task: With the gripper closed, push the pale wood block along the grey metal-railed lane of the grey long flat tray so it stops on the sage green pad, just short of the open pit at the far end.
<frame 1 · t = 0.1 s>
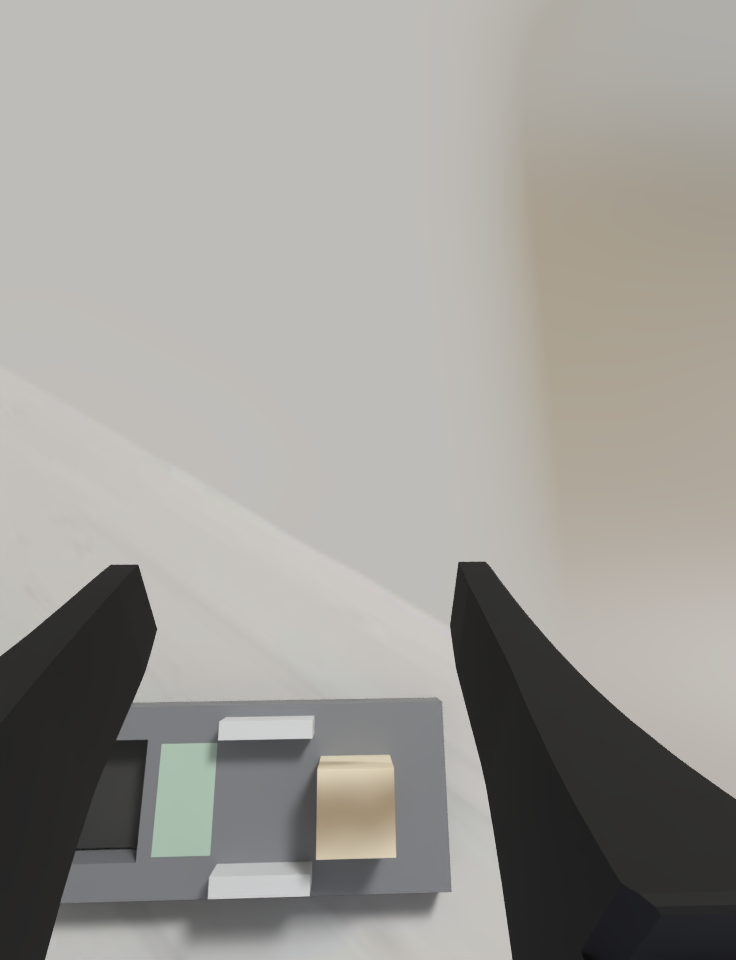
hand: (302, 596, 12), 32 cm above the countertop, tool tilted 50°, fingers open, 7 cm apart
grey long flat tray: (255, 786, 39), on the countertop
block: (355, 794, 37), point 2 cm above the countertop, touching grey long flat tray
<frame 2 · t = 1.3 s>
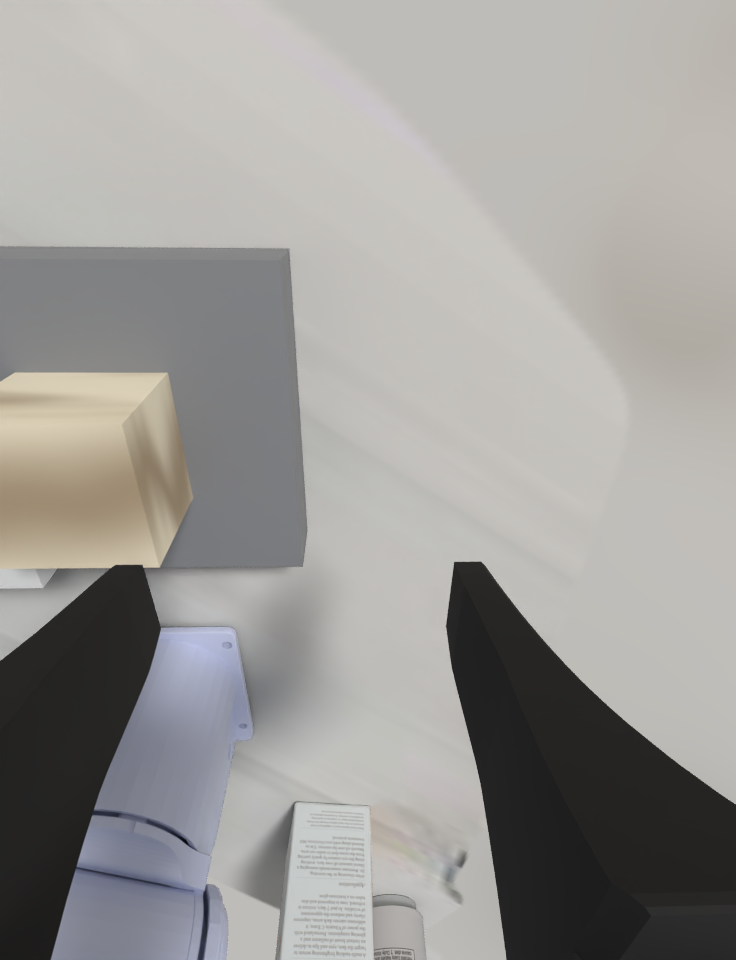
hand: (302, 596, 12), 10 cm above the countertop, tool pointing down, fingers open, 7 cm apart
block: (110, 439, 18), point 2 cm above the countertop, touching grey long flat tray
small box: (326, 826, 39), on the countertop
energy drink can: (387, 903, 46), on the countertop
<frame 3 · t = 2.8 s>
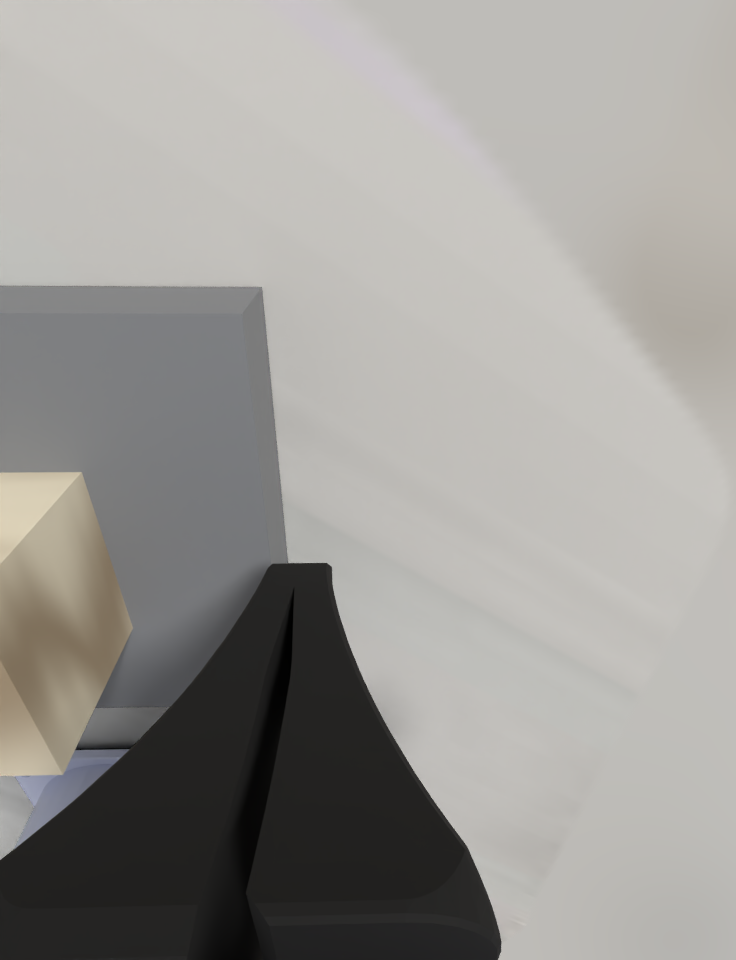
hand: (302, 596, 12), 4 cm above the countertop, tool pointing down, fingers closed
block: (8, 558, 13), point 2 cm above the countertop, touching grey long flat tray
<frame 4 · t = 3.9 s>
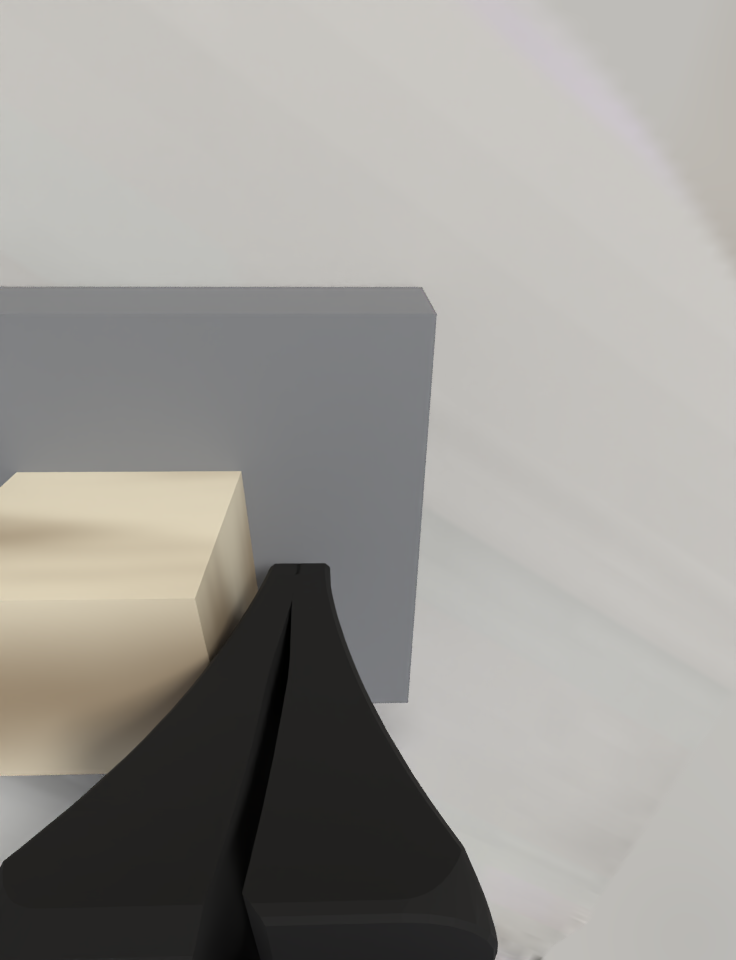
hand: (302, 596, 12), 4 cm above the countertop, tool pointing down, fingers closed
block: (152, 557, 13), point 3 cm above the countertop, touching gripper
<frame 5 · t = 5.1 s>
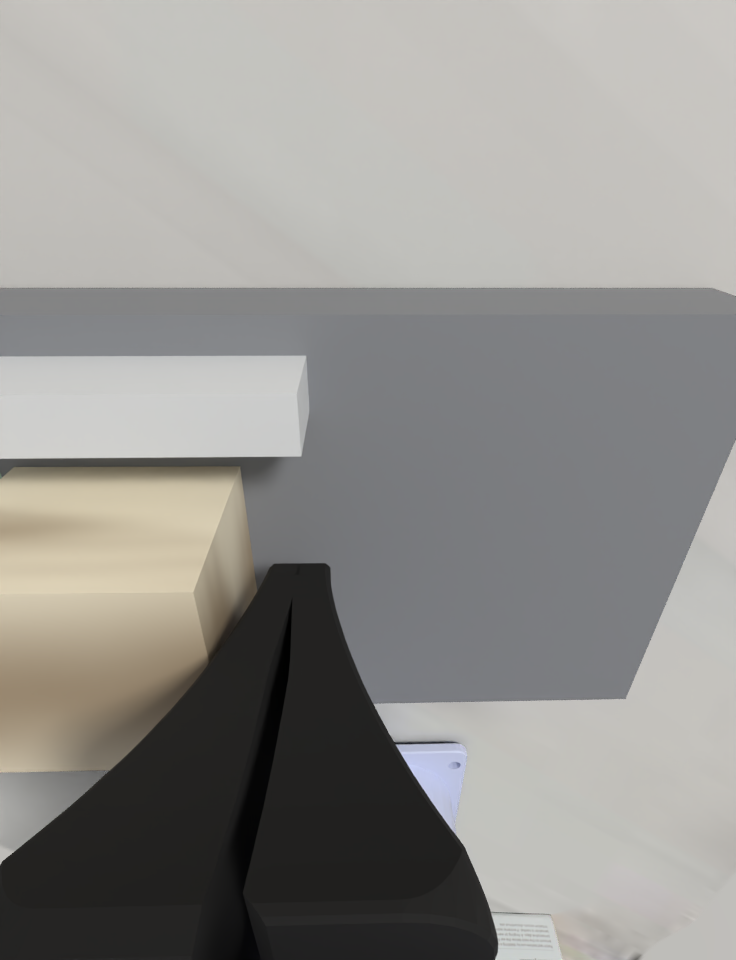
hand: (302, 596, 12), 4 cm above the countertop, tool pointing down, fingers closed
grey long flat tray: (169, 502, 15), on the countertop
block: (151, 553, 13), point 3 cm above the countertop, touching gripper
small box: (491, 932, 33), on the countertop
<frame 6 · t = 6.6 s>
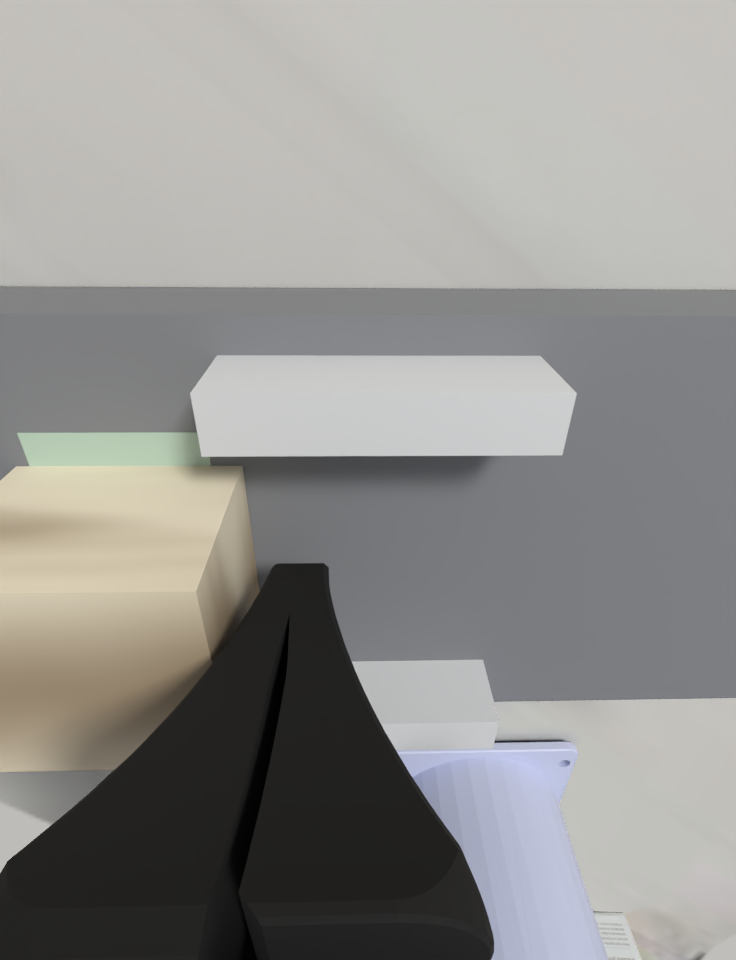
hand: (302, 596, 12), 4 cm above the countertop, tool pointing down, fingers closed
grey long flat tray: (330, 501, 15), on the countertop
block: (153, 552, 13), point 3 cm above the countertop, touching grey long flat tray, gripper
small box: (560, 930, 34), on the countertop
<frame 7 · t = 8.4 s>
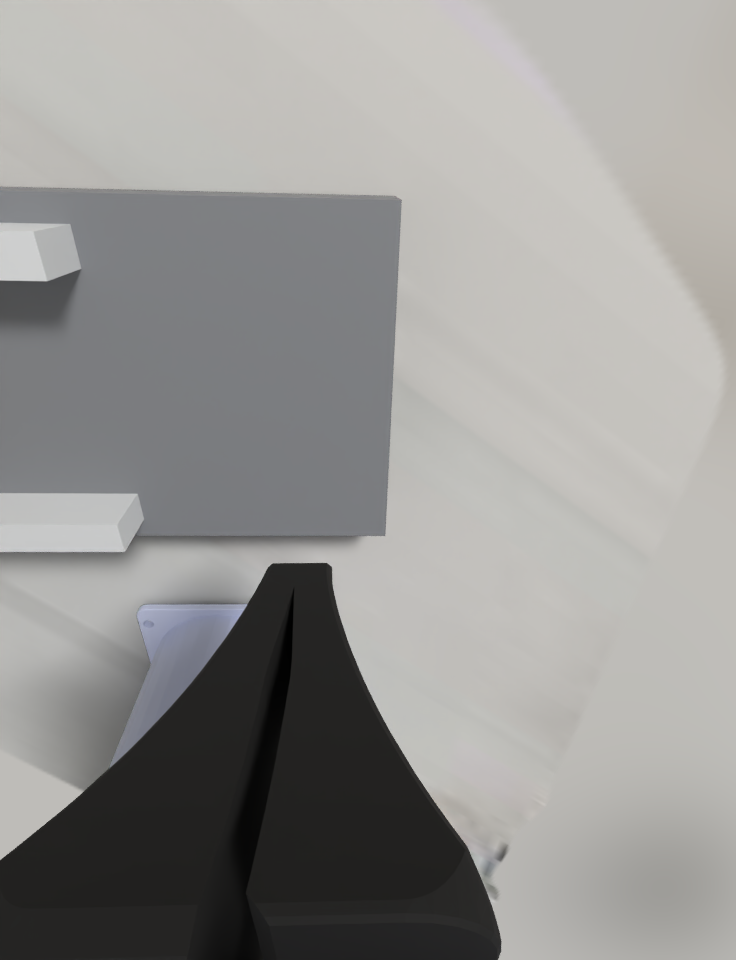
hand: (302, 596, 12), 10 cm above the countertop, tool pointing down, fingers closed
grey long flat tray: (18, 368, 19), on the countertop
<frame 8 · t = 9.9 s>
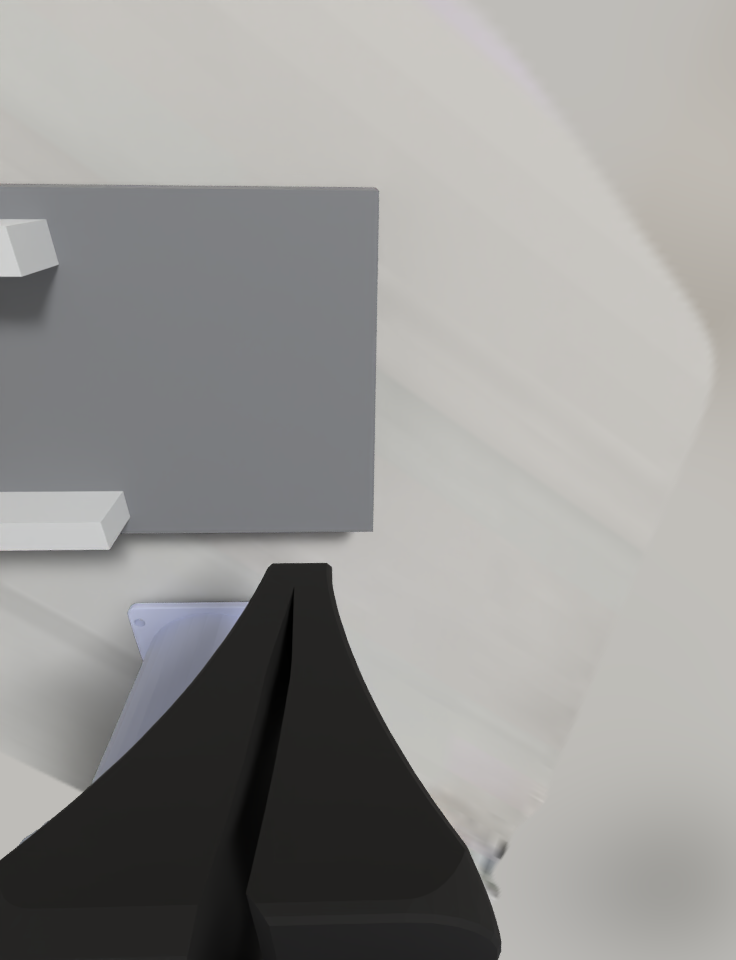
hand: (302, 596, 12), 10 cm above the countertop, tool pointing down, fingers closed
grey long flat tray: (2, 366, 19), on the countertop
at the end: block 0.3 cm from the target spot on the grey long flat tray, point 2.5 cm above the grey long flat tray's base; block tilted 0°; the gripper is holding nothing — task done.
